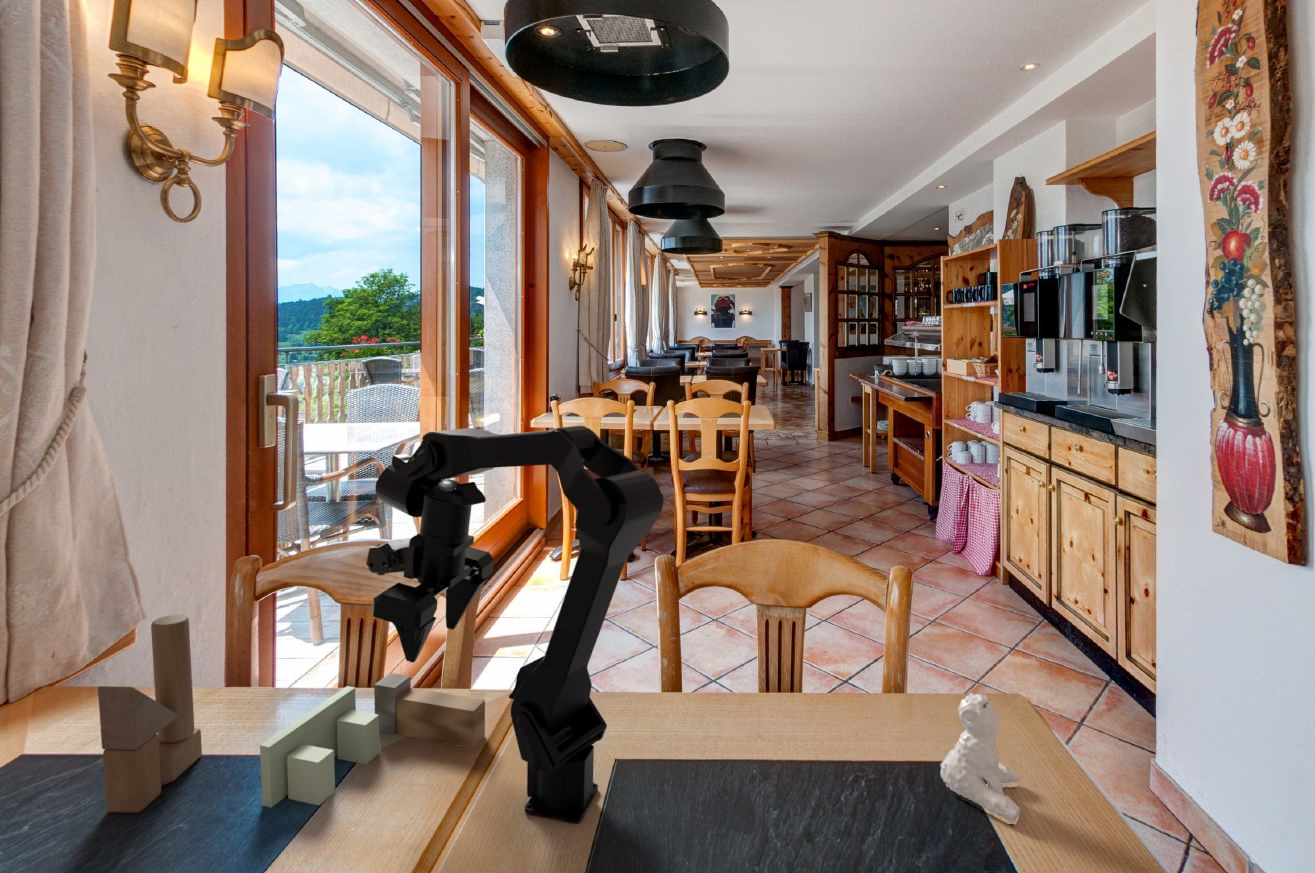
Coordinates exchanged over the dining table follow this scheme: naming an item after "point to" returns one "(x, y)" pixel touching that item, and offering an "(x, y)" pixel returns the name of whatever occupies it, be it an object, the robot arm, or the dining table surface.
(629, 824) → the dining table surface
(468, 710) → the hammer
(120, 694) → the wooden block
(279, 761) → the pale green slab
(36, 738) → the dining table surface
